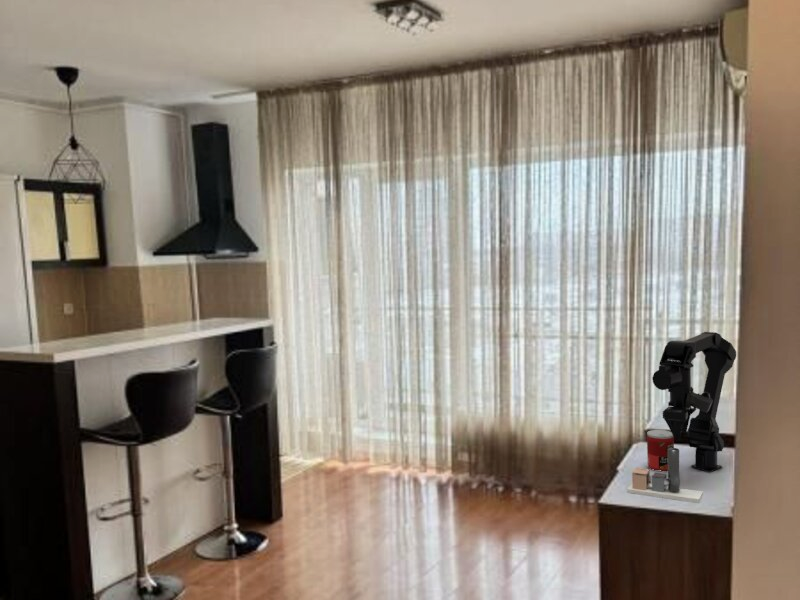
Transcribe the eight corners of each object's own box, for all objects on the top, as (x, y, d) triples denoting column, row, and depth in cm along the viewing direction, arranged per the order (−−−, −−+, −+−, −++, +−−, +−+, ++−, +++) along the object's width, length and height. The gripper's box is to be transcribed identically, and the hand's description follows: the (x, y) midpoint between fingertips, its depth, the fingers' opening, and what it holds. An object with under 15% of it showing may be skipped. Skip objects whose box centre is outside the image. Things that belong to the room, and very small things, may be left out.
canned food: (662, 473, 214) (661, 438, 213) (642, 466, 221) (641, 432, 220) (680, 468, 217) (679, 433, 216) (659, 462, 224) (658, 428, 223)
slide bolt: (680, 488, 196) (680, 448, 195) (678, 492, 194) (677, 451, 193) (640, 483, 202) (639, 444, 201) (637, 486, 200) (636, 447, 199)
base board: (703, 495, 195) (703, 491, 195) (699, 502, 189) (699, 499, 189) (633, 485, 205) (632, 481, 205) (627, 492, 200) (627, 489, 200)
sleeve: (666, 488, 198) (666, 473, 198) (664, 492, 196) (663, 477, 195) (654, 486, 200) (654, 472, 200) (652, 490, 197) (651, 476, 197)
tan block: (649, 485, 201) (649, 469, 201) (646, 490, 198) (646, 474, 197) (636, 483, 203) (635, 467, 203) (632, 488, 200) (632, 472, 199)
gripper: (704, 392, 192) (704, 448, 194) (715, 380, 208) (716, 432, 209) (661, 389, 198) (662, 444, 200) (675, 377, 214) (676, 428, 215)
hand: (680, 436), depth 206 cm, fingers open, 9 cm apart
